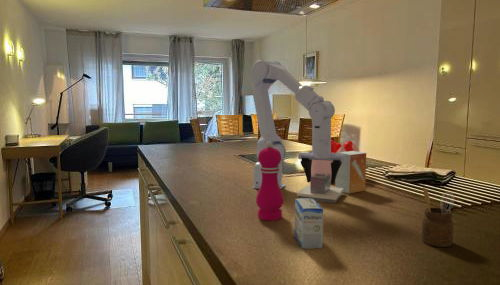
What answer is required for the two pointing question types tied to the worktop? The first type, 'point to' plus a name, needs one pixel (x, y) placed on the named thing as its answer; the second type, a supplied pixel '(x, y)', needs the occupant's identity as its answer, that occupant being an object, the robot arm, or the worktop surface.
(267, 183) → the pepper mill
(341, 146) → the cake
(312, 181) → the housing
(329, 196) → the plate
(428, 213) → the utensil holder
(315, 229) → the medicine box
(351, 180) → the small box
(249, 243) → the worktop surface
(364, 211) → the worktop surface
